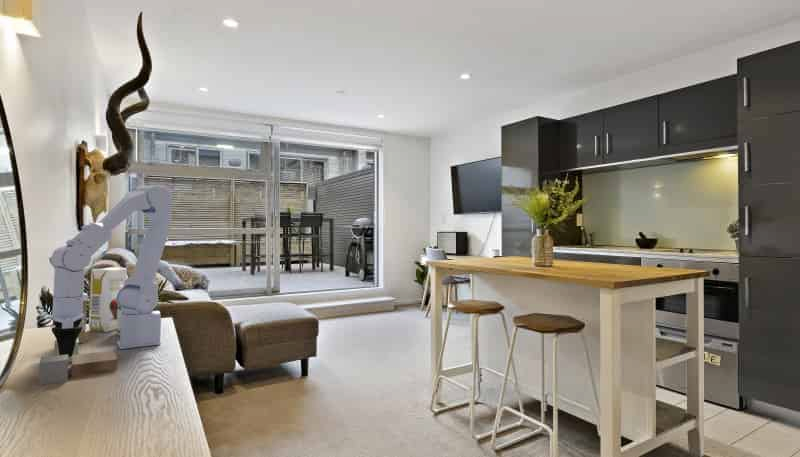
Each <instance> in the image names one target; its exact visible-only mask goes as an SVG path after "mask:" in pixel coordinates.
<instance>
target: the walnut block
mask: <svg viewBox="0 0 800 457" xmlns="http://www.w3.org/2000/svg"><path fill="white" fill-rule="evenodd" d="M117 370H118V357H117V355H116V352H115V350H105V351H104V350H103V351H98V352H88V353H80V354H79V353H78V355H72V362H71V378H75V377H80V376H81V377H83V376H89V375H97V374H103V373H110V372H116V371H117Z"/></svg>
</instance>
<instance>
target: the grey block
mask: <svg viewBox="0 0 800 457" xmlns="http://www.w3.org/2000/svg"><path fill="white" fill-rule="evenodd" d="M68 369H69V362H68V354H66V355H58V356H54V355H52V356H51V355H50V356H42V357H40V361H39V375H38V376H39V377H38V385H39V386H41V385H42V386H43V385H49V384H54V383H61V382H68V372H69V370H68Z"/></svg>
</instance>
